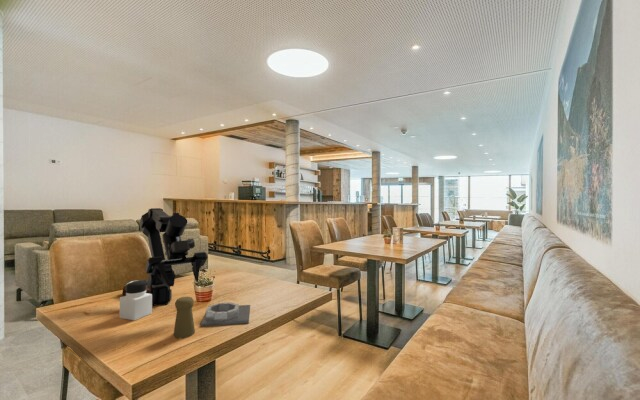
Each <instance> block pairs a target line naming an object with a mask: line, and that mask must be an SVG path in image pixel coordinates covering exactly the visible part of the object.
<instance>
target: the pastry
mask: <svg viewBox="0 0 640 400" xmlns="http://www.w3.org/2000/svg"><path fill="white" fill-rule="evenodd" d="M142 281H145V282H146V293H149V294H151V290H150V289H148V287H147V281H148V280H146V279H142ZM122 295H123V296H126V284H125V285H124V286H123V287H122Z"/></svg>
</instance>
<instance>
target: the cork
mask: <svg viewBox="0 0 640 400" xmlns="http://www.w3.org/2000/svg"><path fill="white" fill-rule="evenodd" d="M194 305H195V301H194V299H193V297H191V296H181V297H178V298H177V299H176V301H175V304H174V307H175V309H176V313H175V314H176V315H175V321H174V326H173V327H174V328H173V337H174V338H176V339H186V338H189V337H192V336H193V335H195V334H196V330H195V329H196V328H195V322H194V314H193V307H194Z"/></svg>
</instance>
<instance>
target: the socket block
mask: <svg viewBox="0 0 640 400" xmlns="http://www.w3.org/2000/svg"><path fill="white" fill-rule="evenodd" d="M250 312H251V304H244V305H243V304H242V305H241V304H239V303H234V302H231V301H229V302H226V301H225V302H217V303H214V304H212V305H208V306H207V308H206V310H205V314H204V317H203V318H202V321H201V322H200V327H214V326H215V327H217V326H230V325H231V326H232V325H242V324H243V325H244V324H249V323H250V314H251V313H250Z"/></svg>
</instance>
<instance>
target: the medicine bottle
mask: <svg viewBox="0 0 640 400" xmlns="http://www.w3.org/2000/svg"><path fill="white" fill-rule="evenodd" d="M142 280H143V279H142ZM142 280H139V279H138V280H132V281H129V282H128V283H126V284H125V285H126V296H124V295H123V296H120V297H119V319H125V320H128V321H134V322H135V321H137V320H139V319H143V318H145V317H147V316H149V315H151V314H152V313H153V305H152V294H149V293H146V282H145V281H142Z"/></svg>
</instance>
